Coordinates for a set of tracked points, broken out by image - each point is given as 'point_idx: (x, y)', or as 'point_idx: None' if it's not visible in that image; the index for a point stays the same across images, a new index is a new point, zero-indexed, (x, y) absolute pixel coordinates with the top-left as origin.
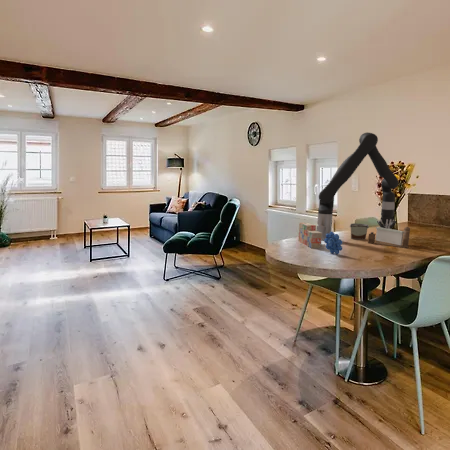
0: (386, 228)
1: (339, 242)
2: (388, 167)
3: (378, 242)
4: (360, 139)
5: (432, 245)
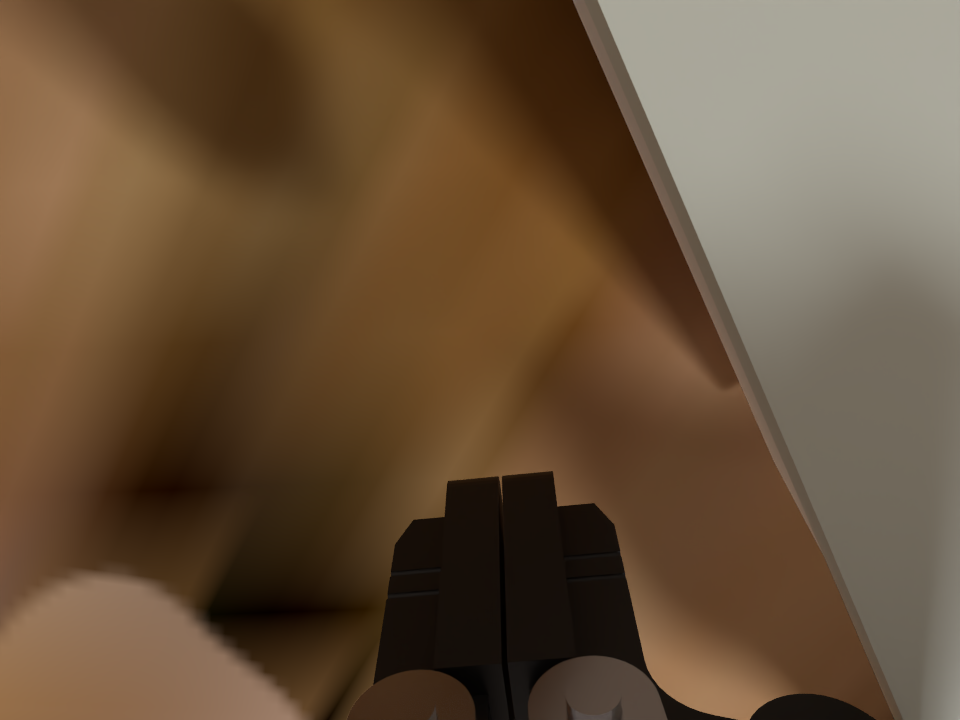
0: (855, 458)
1: None
2: None
3: None
4: None
5: None
